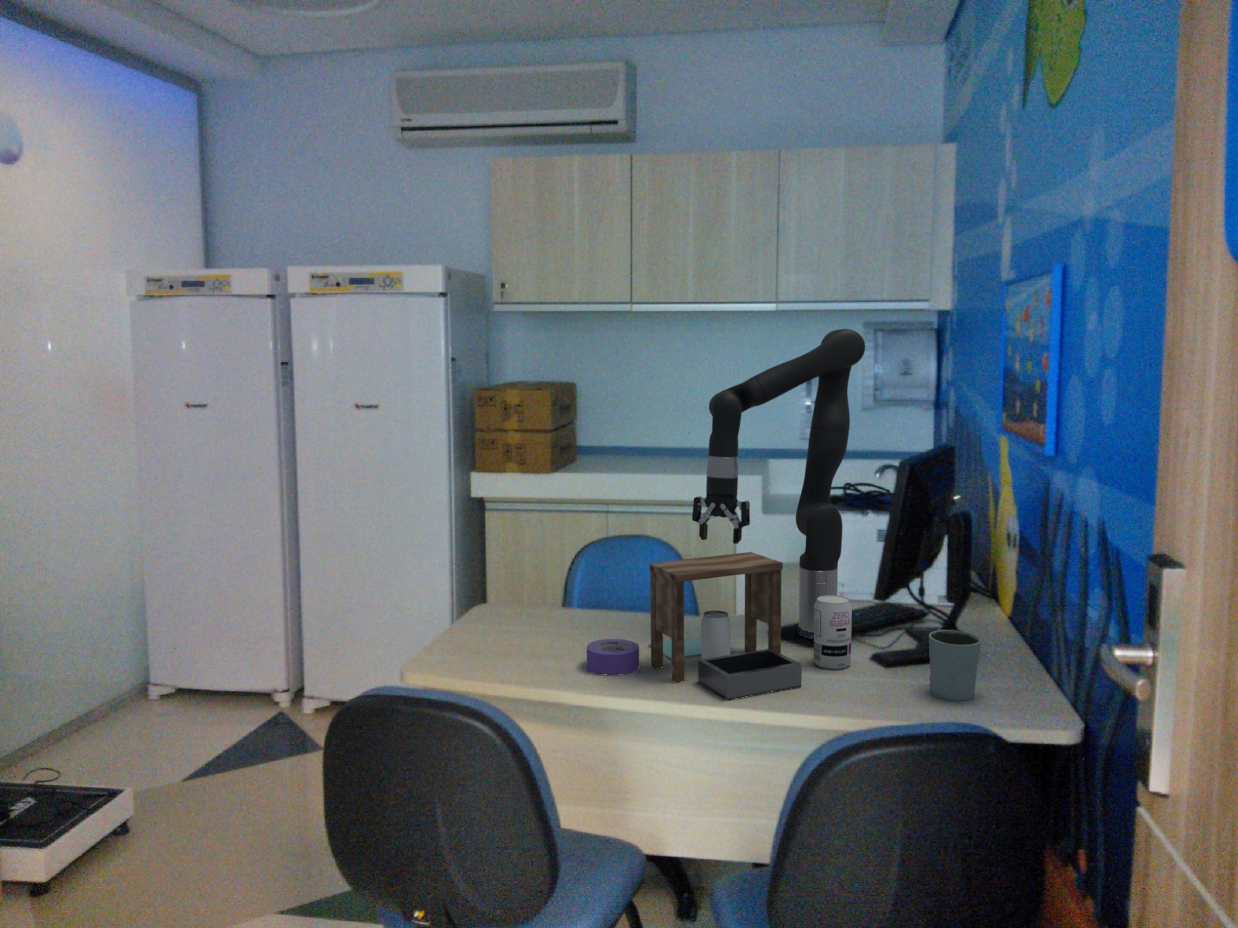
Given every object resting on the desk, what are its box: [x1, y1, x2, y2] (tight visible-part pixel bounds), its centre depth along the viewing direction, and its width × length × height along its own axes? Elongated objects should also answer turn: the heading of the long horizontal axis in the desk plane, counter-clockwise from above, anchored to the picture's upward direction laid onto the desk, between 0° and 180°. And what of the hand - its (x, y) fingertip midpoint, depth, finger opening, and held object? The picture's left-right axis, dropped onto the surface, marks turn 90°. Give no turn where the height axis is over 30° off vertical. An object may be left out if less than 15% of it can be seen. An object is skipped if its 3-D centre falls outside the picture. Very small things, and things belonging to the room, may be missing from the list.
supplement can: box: [813, 595, 853, 670], centre depth 219 cm, size 8×8×15 cm
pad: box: [647, 636, 701, 661], centre depth 232 cm, size 12×14×1 cm
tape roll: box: [586, 638, 640, 676], centre depth 220 cm, size 12×12×5 cm
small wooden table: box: [648, 551, 784, 684], centre depth 218 cm, size 13×26×24 cm, turn 115°
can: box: [700, 610, 731, 660], centre depth 219 cm, size 6×6×12 cm
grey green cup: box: [928, 629, 982, 702], centre depth 200 cm, size 10×10×12 cm
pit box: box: [697, 648, 803, 701], centre depth 207 cm, size 12×18×5 cm, turn 115°
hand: (719, 541), depth 237 cm, fingers open, 8 cm apart
